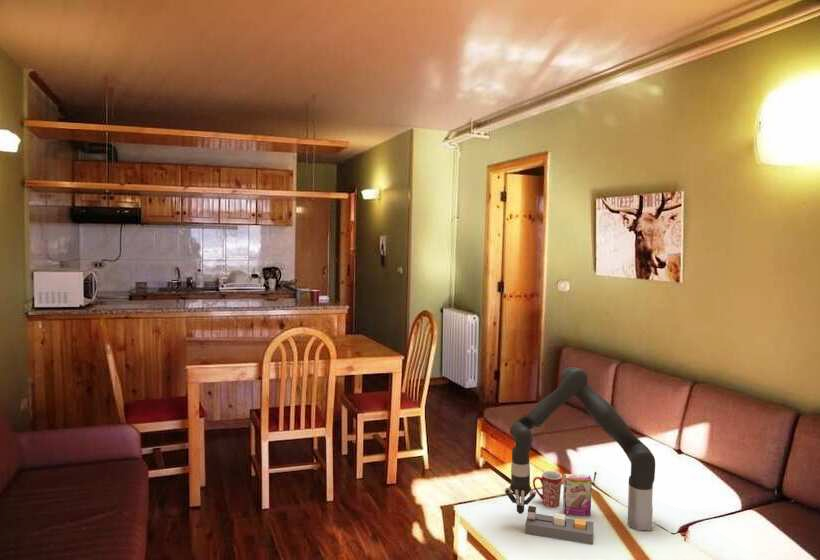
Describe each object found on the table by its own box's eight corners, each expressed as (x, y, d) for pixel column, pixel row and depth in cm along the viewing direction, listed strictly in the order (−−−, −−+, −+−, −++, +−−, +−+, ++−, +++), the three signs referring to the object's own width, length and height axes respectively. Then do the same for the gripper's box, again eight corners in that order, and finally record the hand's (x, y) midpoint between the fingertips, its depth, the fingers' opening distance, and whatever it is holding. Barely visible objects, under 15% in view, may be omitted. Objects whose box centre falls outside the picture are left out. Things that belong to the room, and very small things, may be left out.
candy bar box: (564, 515, 246) (565, 478, 244) (562, 509, 251) (563, 473, 249) (591, 516, 245) (592, 479, 243) (588, 510, 250) (589, 474, 248)
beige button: (565, 521, 233) (565, 514, 232) (564, 526, 229) (564, 519, 228) (554, 520, 234) (554, 512, 234) (553, 525, 230) (553, 517, 230)
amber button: (585, 527, 230) (585, 520, 230) (585, 532, 226) (585, 525, 226) (574, 525, 232) (575, 518, 231) (574, 530, 228) (574, 523, 227)
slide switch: (536, 520, 236) (536, 506, 236) (534, 525, 233) (535, 511, 232) (528, 519, 237) (528, 505, 237) (527, 524, 234) (527, 510, 233)
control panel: (593, 531, 232) (593, 522, 232) (592, 544, 223) (593, 534, 222) (528, 521, 241) (528, 512, 240) (525, 533, 231) (525, 524, 231)
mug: (561, 500, 260) (561, 471, 258) (562, 509, 251) (562, 479, 250) (532, 497, 262) (533, 468, 261) (532, 506, 254) (532, 477, 252)
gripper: (538, 470, 236) (537, 511, 238) (505, 466, 240) (505, 506, 242) (535, 478, 229) (535, 519, 231) (502, 473, 233) (502, 514, 235)
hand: (520, 512), depth 236 cm, fingers closed
